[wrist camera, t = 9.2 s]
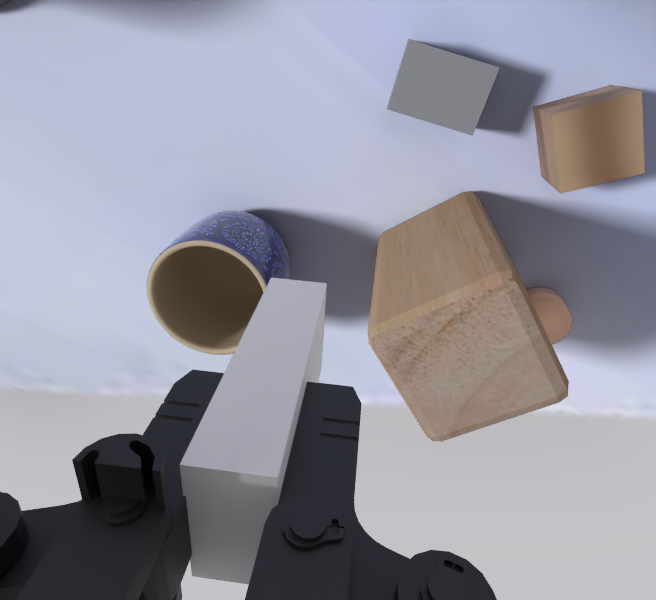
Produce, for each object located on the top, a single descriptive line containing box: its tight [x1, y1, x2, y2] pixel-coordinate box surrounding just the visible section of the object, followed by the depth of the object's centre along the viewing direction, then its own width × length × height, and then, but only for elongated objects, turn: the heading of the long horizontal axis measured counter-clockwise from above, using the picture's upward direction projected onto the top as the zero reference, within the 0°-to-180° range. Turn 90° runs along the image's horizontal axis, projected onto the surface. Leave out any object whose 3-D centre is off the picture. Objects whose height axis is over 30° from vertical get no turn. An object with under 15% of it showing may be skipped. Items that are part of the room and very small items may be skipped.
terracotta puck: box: [527, 287, 573, 344], centre depth 49 cm, size 5×5×3 cm
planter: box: [147, 211, 289, 355], centre depth 46 cm, size 11×11×11 cm
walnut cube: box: [533, 85, 645, 193], centre depth 40 cm, size 6×6×6 cm
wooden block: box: [368, 191, 569, 441], centre depth 40 cm, size 10×10×20 cm
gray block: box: [387, 39, 500, 135], centre depth 40 cm, size 7×5×5 cm
